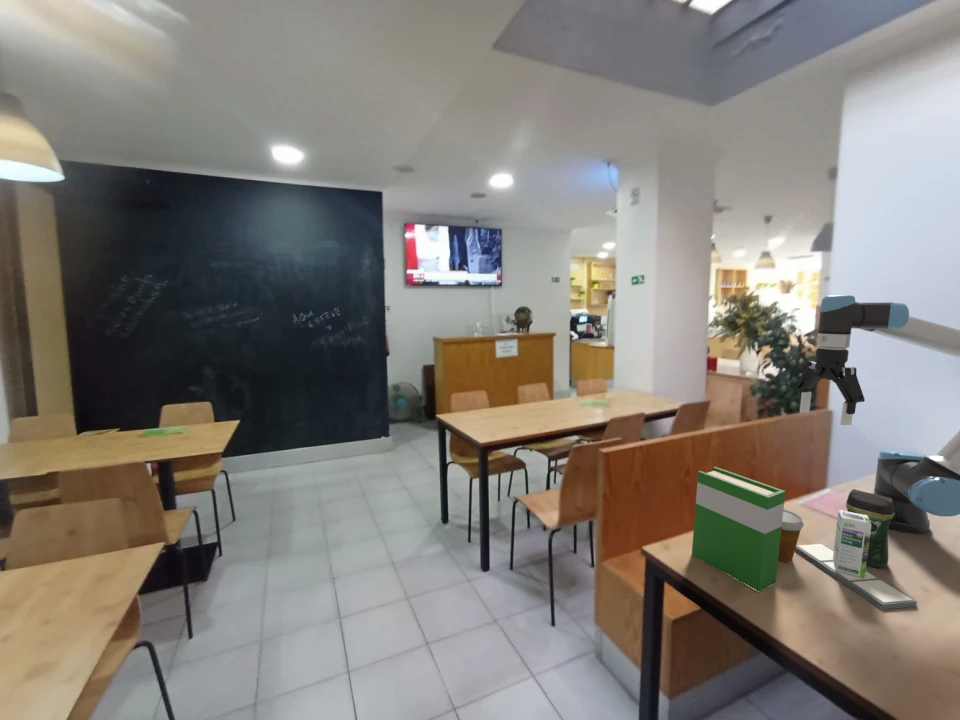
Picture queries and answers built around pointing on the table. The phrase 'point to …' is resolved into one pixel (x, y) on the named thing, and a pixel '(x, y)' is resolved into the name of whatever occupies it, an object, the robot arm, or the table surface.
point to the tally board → (857, 579)
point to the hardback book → (738, 526)
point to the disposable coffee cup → (789, 535)
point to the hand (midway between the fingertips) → (824, 418)
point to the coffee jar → (874, 522)
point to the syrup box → (851, 543)
